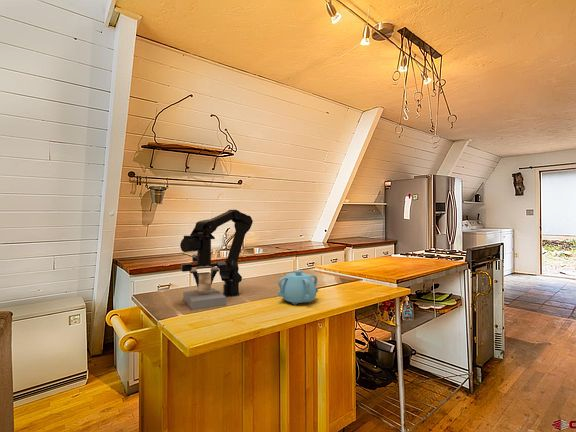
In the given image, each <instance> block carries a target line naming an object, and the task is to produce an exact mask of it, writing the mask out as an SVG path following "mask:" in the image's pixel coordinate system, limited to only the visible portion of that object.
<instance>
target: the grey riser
mask: <svg viewBox="0 0 576 432" xmlns="http://www.w3.org/2000/svg"><path fill="white" fill-rule="evenodd" d="M182 294H183V295H182V299H183V301H184V303H186V305H187V307H189V308H190V309H191V311H197V310H202V309H204V310H205V309H210V308H217V307H225V306H226V307H227V296H225V294H224V293H222V292H220V291H219V290H217V289H216V288H215V287H213V288H212V287H211V290H209V291H198V289H193V290H186V291H183V293H182Z"/></svg>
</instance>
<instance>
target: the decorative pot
mask: <svg viewBox="0 0 576 432" xmlns="http://www.w3.org/2000/svg"><path fill="white" fill-rule="evenodd" d="M313 278H314V280H313ZM317 285H318V277H317V276H316V275H315V274H309V273H305V272H303V270H302V269H301V270H300V269H296V270H294V272H290V273H286V275H285V276H282V277H281V278H279V280H278V287H279V290H278V292H277V296H278V297H280V298H283V299H284V301H287V302H288V303H291V305H298V304H302V303H305V304H306V303H307V304H311V303H312V302H313V301H314V300H315V299H316V297H317V293H318V292H319V289H318V287H317Z"/></svg>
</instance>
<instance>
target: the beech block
mask: <svg viewBox="0 0 576 432" xmlns="http://www.w3.org/2000/svg"><path fill="white" fill-rule="evenodd" d="M197 273H198V283H199V284H198V287H197V290H198V291H209V290H211V288H212V285H211V271H205V272H197Z"/></svg>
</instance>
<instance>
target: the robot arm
mask: <svg viewBox="0 0 576 432" xmlns="http://www.w3.org/2000/svg"><path fill="white" fill-rule="evenodd" d="M230 221H231V222H232V223H234V236H233V239H232V243H231V244H230V249H229V253H228V255H227V259H226V260H225V261H224V260H220V261H215V262H214V263H212V240H215V239H216V237H215V236H214V235H213V233H214V232H216V230H217V229H218V228H219V227H220V226H222V225H224V224H226V223H229V222H230ZM253 221H254V220H253V218H252V217H251V216H250V215H247V214H246V213H244V212H241V211H239V210H238V209H228V210H227V211H225V212H223V213H221V214H219V215H217V216H214V217H212V218H208V219H203V220H199V221H197V222H196V223H195V226H194V228H193V230H192V231H191V233H190V235H183V238H182V240H181V241H180V250H181V251H182V252H183V253H191V252H192V253H193V252H197V254H192V255H191V260H192V262H182V263H181V265H180V271H181V272H182V273H185V272H189V273H190V274H192V275H193V278H194V281H195V283H196V286H197V288H198V284H199V283H198V273H199V272H198V271H197V269H210V274H211V286H212V284H213V282H214V279H215V276H216V275H217V273H218V275H219V277H220V279H221V281H222V282H224V284H222V290H223V292H222V294H223V295H224V296H225V297H231V296H232V297H233V296H240V293H239V289H240V288H239V286H240V284H239V283H241V282H242V281H243V276H242V275H241V274H240V273H239V270H240V269H239V268H240V267H239V264H238V261H239V257H240V254H241V250H242V247H243V245H244V240H245V238H246V237H245V236H246V234H247V233H248V232H249V231H251V228H252V225H253V223H254V222H253ZM192 263H196V264H192Z"/></svg>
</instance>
